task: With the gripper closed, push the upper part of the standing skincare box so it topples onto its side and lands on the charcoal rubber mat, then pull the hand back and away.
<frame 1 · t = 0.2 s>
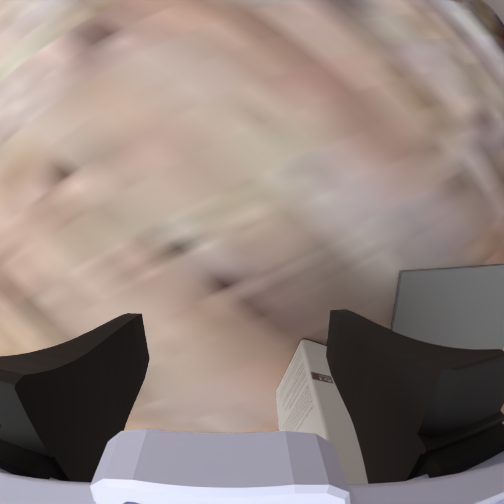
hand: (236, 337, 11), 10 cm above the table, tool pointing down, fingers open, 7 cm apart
skincare box: (327, 375, 24), on the table
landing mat: (452, 355, 24), on the table
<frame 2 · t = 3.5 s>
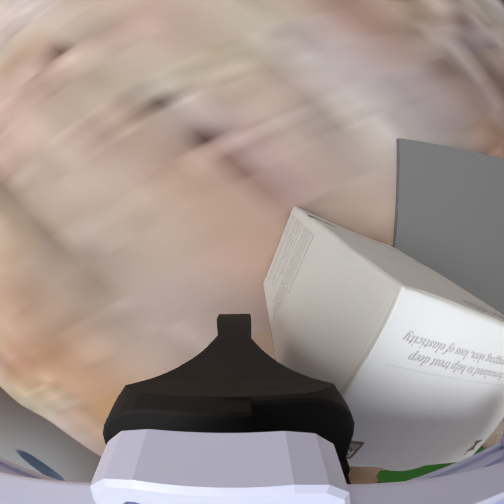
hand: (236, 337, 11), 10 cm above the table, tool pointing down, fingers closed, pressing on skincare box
hardback book: (424, 474, 29), on the table
skincare box: (325, 265, 21), on the table, touching gripper
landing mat: (469, 262, 21), on the table
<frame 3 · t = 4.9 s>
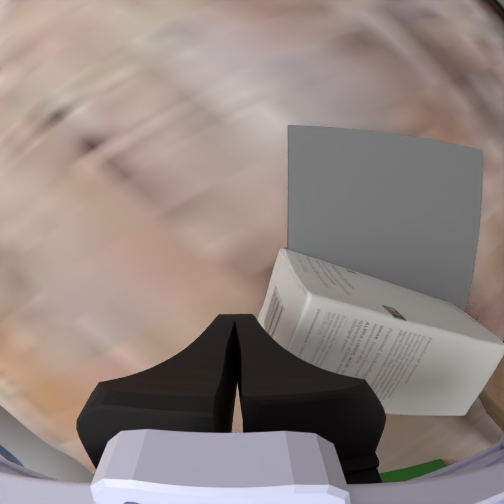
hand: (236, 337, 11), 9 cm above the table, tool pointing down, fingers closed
hardback book: (374, 487, 29), on the table
skincare box: (268, 316, 17), point 5 cm above the table, touching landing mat
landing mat: (395, 262, 21), on the table
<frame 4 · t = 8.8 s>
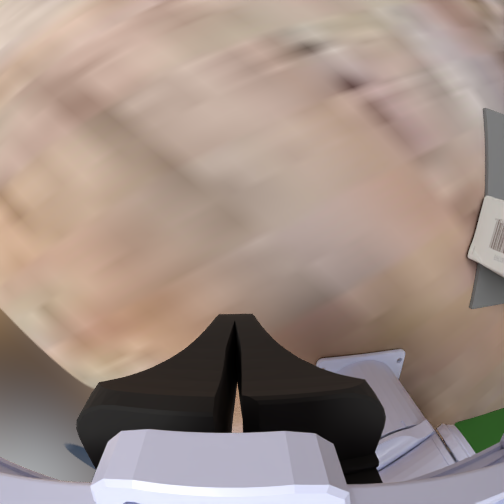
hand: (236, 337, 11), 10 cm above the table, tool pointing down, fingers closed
hardback book: (485, 428, 29), on the table
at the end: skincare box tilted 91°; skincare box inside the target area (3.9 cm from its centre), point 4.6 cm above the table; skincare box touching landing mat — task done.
